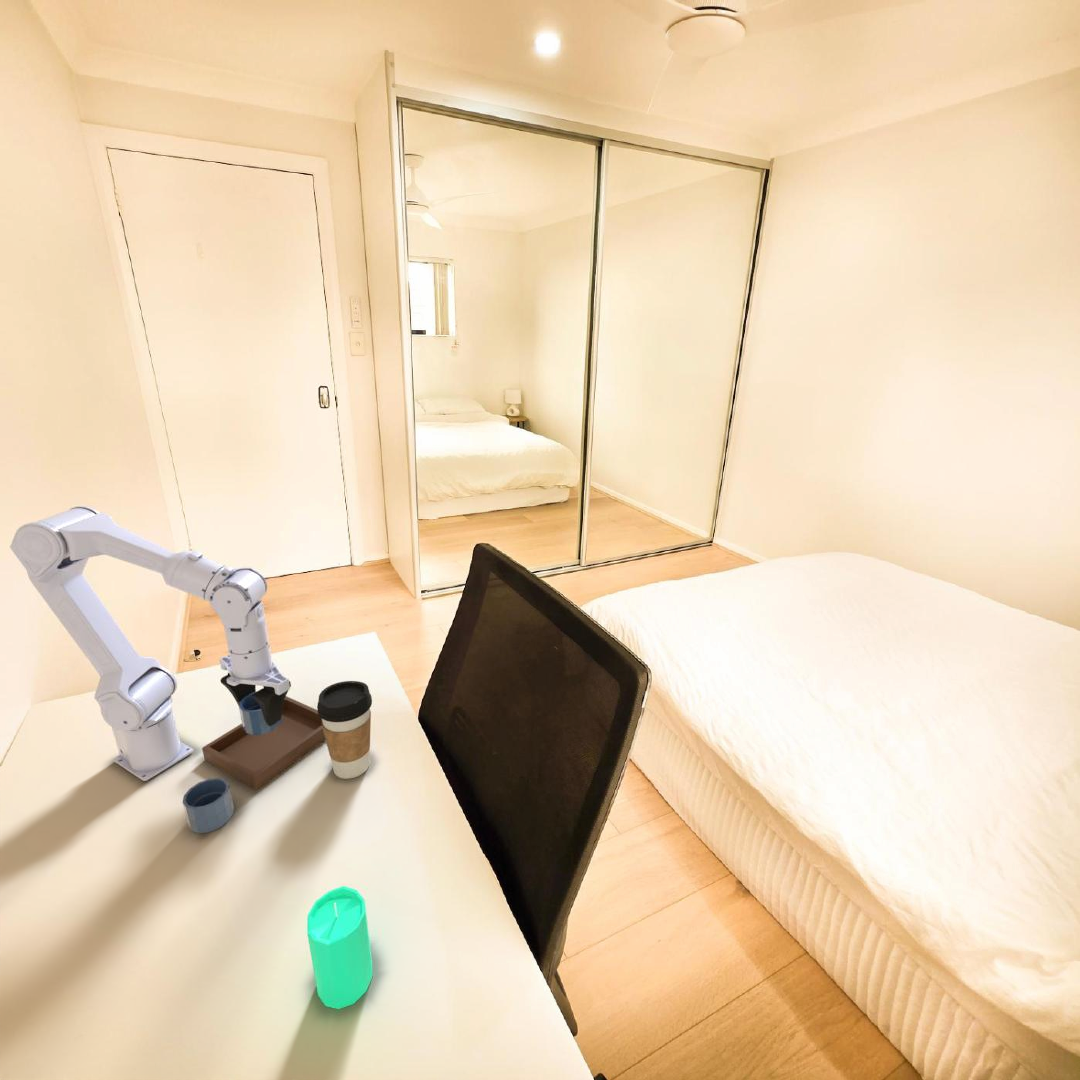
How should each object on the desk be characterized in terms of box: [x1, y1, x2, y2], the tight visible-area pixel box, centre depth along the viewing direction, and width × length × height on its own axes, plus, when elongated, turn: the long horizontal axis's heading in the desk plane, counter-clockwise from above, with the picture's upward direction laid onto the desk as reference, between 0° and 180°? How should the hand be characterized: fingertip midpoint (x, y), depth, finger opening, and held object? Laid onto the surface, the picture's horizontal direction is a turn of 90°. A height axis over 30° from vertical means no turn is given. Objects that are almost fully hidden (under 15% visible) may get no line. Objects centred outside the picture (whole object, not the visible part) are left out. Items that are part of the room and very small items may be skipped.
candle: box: [306, 885, 374, 1010], centre depth 58 cm, size 6×6×12 cm
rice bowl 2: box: [238, 690, 282, 735], centre depth 88 cm, size 6×6×5 cm
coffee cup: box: [316, 680, 373, 780], centre depth 88 cm, size 8×8×15 cm
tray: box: [201, 695, 326, 791], centre depth 94 cm, size 14×17×3 cm
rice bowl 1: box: [181, 777, 235, 834], centre depth 79 cm, size 6×6×5 cm
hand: (261, 715), depth 89 cm, fingers closed on rice bowl 2, 6 cm apart
